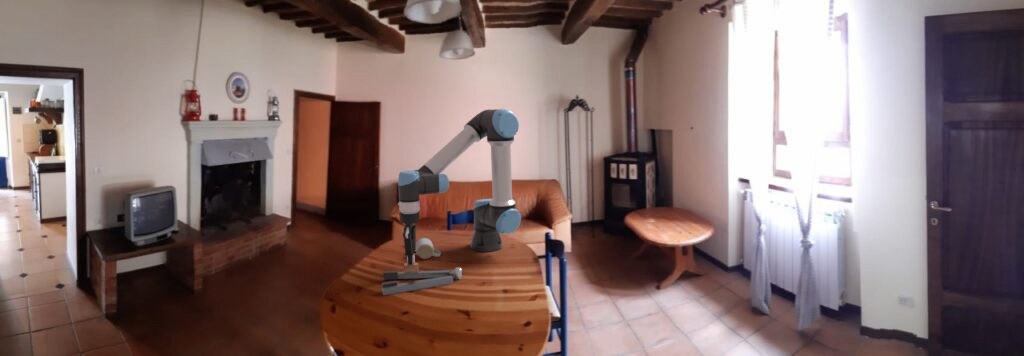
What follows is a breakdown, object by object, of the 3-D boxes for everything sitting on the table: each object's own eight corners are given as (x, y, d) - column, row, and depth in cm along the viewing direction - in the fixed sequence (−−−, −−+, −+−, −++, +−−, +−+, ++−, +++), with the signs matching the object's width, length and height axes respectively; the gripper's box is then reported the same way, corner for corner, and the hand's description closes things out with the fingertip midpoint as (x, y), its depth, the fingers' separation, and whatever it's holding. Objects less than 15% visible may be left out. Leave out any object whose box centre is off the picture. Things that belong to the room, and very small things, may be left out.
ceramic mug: (417, 261, 173) (417, 243, 172) (415, 254, 181) (415, 238, 180) (442, 258, 177) (442, 241, 176) (439, 252, 185) (439, 236, 183)
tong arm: (461, 273, 159) (461, 261, 158) (461, 279, 153) (461, 266, 153) (385, 276, 156) (385, 263, 155) (382, 282, 150) (381, 269, 150)
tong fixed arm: (450, 280, 153) (450, 272, 153) (453, 283, 150) (453, 275, 150) (382, 291, 143) (381, 283, 143) (383, 295, 140) (383, 286, 139)
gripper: (403, 207, 160) (405, 264, 164) (395, 215, 147) (397, 277, 151) (422, 207, 160) (423, 264, 164) (416, 215, 147) (417, 277, 151)
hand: (411, 270), depth 157 cm, fingers closed
